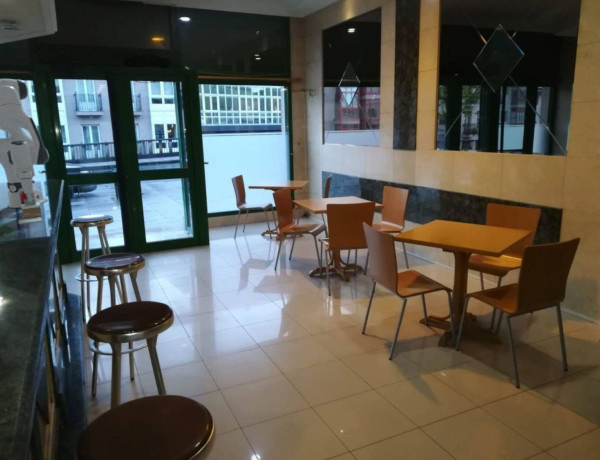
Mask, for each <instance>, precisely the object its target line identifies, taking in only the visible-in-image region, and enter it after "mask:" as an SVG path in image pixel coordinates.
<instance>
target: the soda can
mask: <svg viewBox="0 0 600 460" xmlns="http://www.w3.org/2000/svg"><path fill="white" fill-rule="evenodd" d="M31 195H32V198H35V196H34V192H33V193H31ZM19 197H20V202H21V205H23V204H25V203H24V199H28V198H27V194H25V193H24V190H20V193H19Z"/></svg>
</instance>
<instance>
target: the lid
mask: <svg viewBox="0 0 600 460" xmlns="http://www.w3.org/2000/svg"><path fill="white" fill-rule="evenodd" d="M24 203H25V204H23V205H21V207H20V208H21V210H22V209H28V208H36V207H40V208H41V204H40V203H36V201H35V198H32V202H29V201H28V199H24Z"/></svg>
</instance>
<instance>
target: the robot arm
mask: <svg viewBox="0 0 600 460" xmlns="http://www.w3.org/2000/svg"><path fill="white" fill-rule="evenodd" d="M28 94H29V87H28V86H27V84H26V81H24V80H22V79H17V78H16V79H13V78H0V130H1V131H4V132H6V133H8V134H9V137H3V138H0V165H1V166H2V168H3V169H4V170H3V171H4V174H5V176H6V181H7V183H6V187H7V189H8V191H7V198H8V204H7V207H9V208H12V209H15V208H18V209H19V208H21V202H20V197H19V193H20V190H24V193H25V194H27V198H28V201H29V202H32V195H31V193H33V192H34V196H35V201H36V203H40V205H41V204H44V203H46V202H48V201H49V199H48V198H44V194H43V192H42V191H41V190H39V189H38V188H36V187H35V186H34V185H35V184H36V181H35V180H34V177H36V174H35V168H34V166H43V165H46V164H47V163H48V162H49V161H50V155H49V151H48V149H47V148H46V147H45V144H44V142H43V139H42V137H41V134H40V132H39V130H38V127H37V125H36V123H35V121H34V119H33V118H32V116H30V115H29V114H27V113H26V112H25V110H24V109H23V108H24V107H23V104H22V100H25V99H26V98H28V96H29V95H28ZM24 130H27V132H28V133H29V134H30V135H28V134H26V132H25V131H24ZM30 136H31V137H30ZM33 184H34V185H33Z"/></svg>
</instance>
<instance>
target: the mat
mask: <svg viewBox="0 0 600 460" xmlns="http://www.w3.org/2000/svg"><path fill="white" fill-rule="evenodd" d="M17 221H18V225H25V224H31V223H39V222H43V219H42V216H41V217H34V218H26V219H24V218H23V219H18V220H17Z"/></svg>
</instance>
